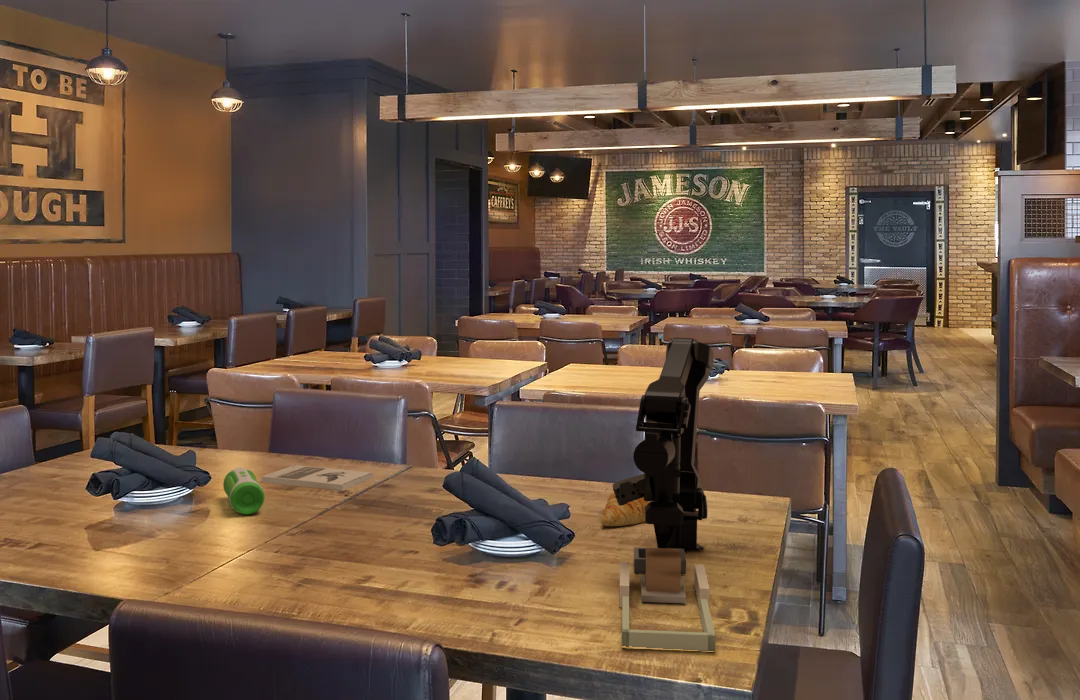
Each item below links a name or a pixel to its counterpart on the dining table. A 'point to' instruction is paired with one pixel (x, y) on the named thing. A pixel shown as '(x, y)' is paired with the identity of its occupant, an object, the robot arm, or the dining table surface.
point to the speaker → (243, 491)
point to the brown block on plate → (663, 577)
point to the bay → (670, 633)
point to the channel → (699, 582)
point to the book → (317, 477)
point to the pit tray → (641, 560)
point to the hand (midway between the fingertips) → (661, 551)
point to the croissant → (623, 512)
